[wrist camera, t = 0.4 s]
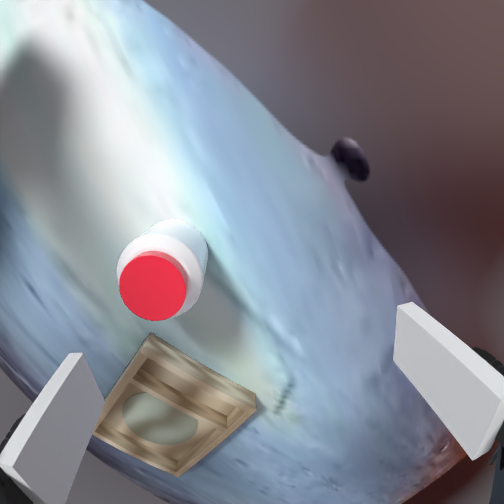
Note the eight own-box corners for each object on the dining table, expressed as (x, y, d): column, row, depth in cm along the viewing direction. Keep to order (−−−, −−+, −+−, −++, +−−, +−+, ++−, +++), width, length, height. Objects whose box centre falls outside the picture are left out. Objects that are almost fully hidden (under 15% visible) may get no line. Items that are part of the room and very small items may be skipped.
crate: (93, 416, 39) (86, 431, 36) (150, 332, 36) (144, 346, 33) (180, 461, 43) (178, 477, 39) (254, 393, 40) (257, 410, 36)
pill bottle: (134, 276, 35) (100, 317, 24) (148, 210, 33) (114, 228, 22) (198, 294, 36) (188, 343, 25) (216, 229, 34) (212, 256, 23)
